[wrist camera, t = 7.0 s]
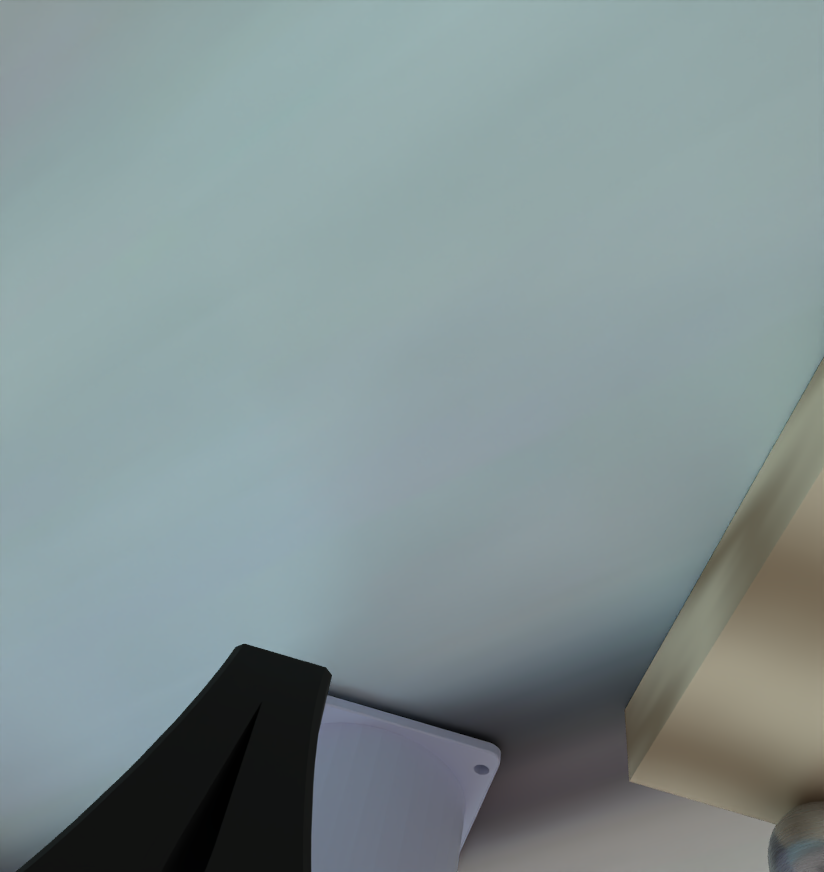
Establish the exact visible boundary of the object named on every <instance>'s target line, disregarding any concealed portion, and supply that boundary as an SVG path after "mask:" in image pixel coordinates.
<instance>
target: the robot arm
mask: <svg viewBox="0 0 824 872" xmlns="http://www.w3.org/2000/svg"><path fill="white" fill-rule="evenodd" d="M331 677H332V675H331V673H330V672H329V671H328V670H327V668H326V667H322V666H319V665H316V664H312V663H309V662H305V661H302V660H298V659H295V658H292V657H288V656H285V655H281V654H278V653H274V652H271V651H268V650H264V649H261V648H257V647H254V646H250V645H247V644H242V645H240V646H237V647H235V649H234V650H233V652H232V653H231V654H230V656H229V657H228V659H227V660H226V661H225V663H224V664H223V665H222V666H221V668H220V669H219V670H218V671H217V673H216V674H215V675H214V677H213V678H212V679H211V680H210V681H209V683H208V684H207V685H206V686H205V687H204V689H203V690H202V691H201V692H200V693H199V695H198V696H197V697H196V698H195V699H194V700H193V701H192V703H191V704H190V705H189V706H188V707H187V708H186V709H185V710H184V712H183V713H182V714H181V715H180V716H179V717H178V718H177V719H176V721H175V722H174V723H173V724H172V725H171V726H170V727H169V728H168V729H167V730H166V731H165V732H164V733H163V734H162V735H161V736H160V737H159V738H158V739H157V741H156V742H155V743H154V744H153V745H152V746H151V747H150V748H149V749H148V750H147V751H146V752H145V753H144V754H143V755H142V756H141V757H140V758H139V759H138V760H137V761H136V763H135V764H134V765H133V766H132V767H131V768H130V769H129V770H128V771H126V772H125V773H124V774H123V775H122V776H121V777H120V778H119V779H118V780H117V781H116V782H115V783H114V784H113V785H112V786H111V787H110V788H109V789H108V790H107V791H106V792H104V793H103V794H102V795H101V796H100V797H99V798H98V799H97V800H96V801H95V802H94V803H93V804H92V805H91V806H90V807H89V808H88V809H87V810H85V811H84V812H83V813H82V814H81V815H80V816H79V817H78V818H77V819H76V820H75V821H74V822H73V823H72V824H70V825H69V826H68V827H67V828H66V829H65V830H64V831H63V832H61V833H60V834H59V835H58V836H57V837H56V838H55V839H54V840H52V841H51V842H50V843H49V844H48V845H47V846H46V847H44V848H43V849H42V850H41V851H40V852H39V853H37V854H36V855H35V856H34V857H33V858H32V859H30V860H29V861H28V862H27V863H26V864H24V865H23V866H22V867H21V868H20V869H18V870H17V871H16V872H457V870H458V862H459V855H460V851H461V849H462V847H463V845H464V842H465V840H466V838H467V836H468V834H469V831H470V829H471V827H472V825H473V822H474V820H475V818H476V816H477V814H478V811H479V809H480V807H481V805H482V803H483V800H484V798H485V796H486V794H487V792H488V789H489V787H490V785H491V783H492V781H493V778H494V776H495V774H496V772H497V769H498V767H499V765H500V759H501V751H500V749H499V748H498V747H497V746H496V745H494V744H492V743H489V742H486V741H483V740H479V739H476V738H472V737H469V736H466V735H462V734H459V733H455V732H452V731H449V730H445V729H442V728H438V727H435V726H431V725H428V724H425V723H421V722H418V721H414V720H411V719H408V718H404V717H401V716H397V715H394V714H391V713H387V712H384V711H380V710H377V709H374V708H370V707H367V706H363V705H360V704H356V703H353V702H350V701H346V700H343V699H339V698H336V697H333V696H329V695H328V690H329V686H330V682H331Z"/></svg>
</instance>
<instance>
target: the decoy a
mask: <svg viewBox="0 0 824 872" xmlns="http://www.w3.org/2000/svg"><path fill="white" fill-rule="evenodd" d="M768 865H769V871H770V872H824V801H814V802H808V803H804V804H801V805H799V806H797V807H795V808H793V809H792V810H790V811H789V812H787V813H786V814H785V815H784V816H783V817H782V818H781V819H780V820H779V822H778V823H777V825H776V826H775V828H774V830H773V832H772V835H771V838H770V842H769V847H768Z"/></svg>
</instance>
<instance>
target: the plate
mask: <svg viewBox="0 0 824 872" xmlns="http://www.w3.org/2000/svg"><path fill="white" fill-rule="evenodd" d="M625 722H626V737H627V753H628V768H629V781H630V782H633V783H637V784H640V785H644V786H647V787H650V788H654V789H657V790H661V791H664V792H667V793H671V794H674V795H678V796H681V797H685V798H688V799H691V800H695V801H698V802H702V803H705V804H708V805H712V806H715V807H719V808H722V809H725V810H729V811H732V812H736V813H739V814H742V815H746V816H749V817H753V818H756V819H760V820H763V821H766V822H770V823H773V824H777V823H778V822H779V820H780V819H781V818H782V817H783V816H784V815H785V814H786V813H787V812H789V811H790V810H792V809H793V808H795V807H797V806H799V805H801V804H804V803H808V802H814V801H824V358H823V360H822V361H821V363H820V365H819V367H818V369H817V370H816V372H815V374H814V376H813V377H812V379H811V381H810V383H809V384H808V386H807V388H806V390H805V392H804V393H803V395H802V397H801V399H800V400H799V402H798V404H797V406H796V408H795V409H794V411H793V413H792V415H791V416H790V418H789V420H788V422H787V423H786V425H785V427H784V429H783V431H782V432H781V434H780V436H779V438H778V439H777V441H776V443H775V445H774V446H773V448H772V450H771V452H770V454H769V455H768V457H767V459H766V461H765V462H764V464H763V466H762V468H761V470H760V471H759V473H758V475H757V477H756V478H755V480H754V482H753V484H752V485H751V487H750V489H749V491H748V493H747V494H746V496H745V498H744V500H743V501H742V503H741V505H740V507H739V508H738V510H737V512H736V514H735V516H734V517H733V519H732V521H731V523H730V524H729V526H728V528H727V530H726V532H725V533H724V535H723V537H722V539H721V540H720V542H719V544H718V546H717V547H716V549H715V551H714V553H713V555H712V556H711V558H710V560H709V562H708V563H707V565H706V567H705V569H704V570H703V572H702V574H701V576H700V578H699V579H698V581H697V583H696V585H695V586H694V588H693V590H692V592H691V594H690V595H689V597H688V599H687V601H686V602H685V604H684V606H683V608H682V609H681V611H680V613H679V615H678V617H677V618H676V620H675V622H674V624H673V625H672V627H671V629H670V631H669V632H668V634H667V636H666V638H665V640H664V641H663V643H662V645H661V647H660V648H659V650H658V652H657V654H656V656H655V657H654V659H653V661H652V663H651V664H650V666H649V668H648V670H647V671H646V673H645V675H644V677H643V679H642V680H641V682H640V684H639V686H638V687H637V689H636V691H635V693H634V694H633V696H632V698H631V700H630V702H629V703H628V705H627V707H626V709H625Z"/></svg>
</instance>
